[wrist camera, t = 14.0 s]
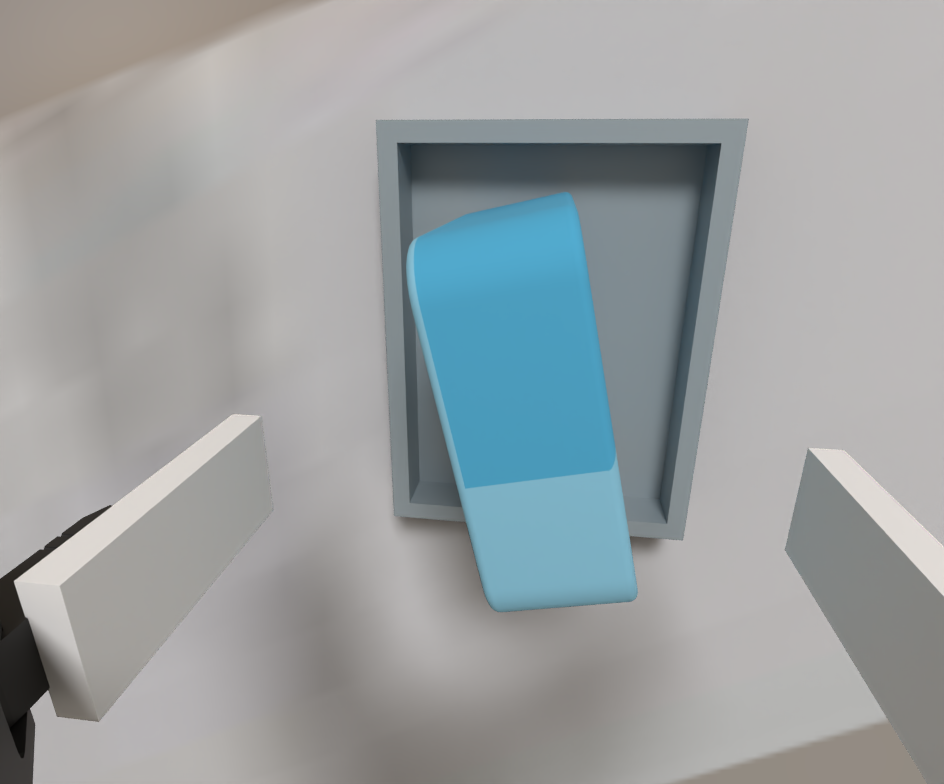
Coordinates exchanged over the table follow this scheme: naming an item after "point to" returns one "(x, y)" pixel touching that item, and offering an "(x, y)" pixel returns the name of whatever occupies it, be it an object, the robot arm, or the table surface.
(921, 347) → the table surface
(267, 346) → the table surface
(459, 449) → the data package
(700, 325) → the tray
